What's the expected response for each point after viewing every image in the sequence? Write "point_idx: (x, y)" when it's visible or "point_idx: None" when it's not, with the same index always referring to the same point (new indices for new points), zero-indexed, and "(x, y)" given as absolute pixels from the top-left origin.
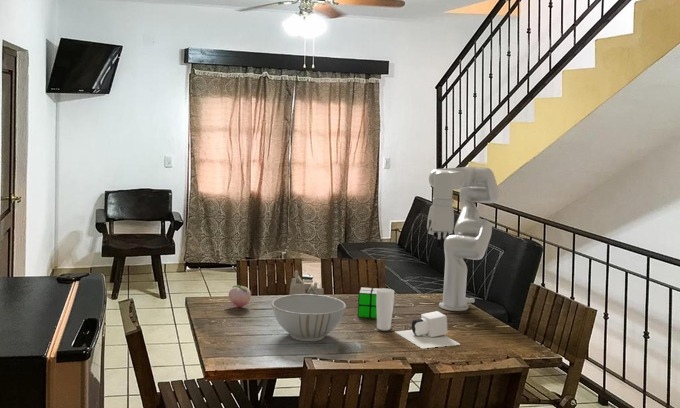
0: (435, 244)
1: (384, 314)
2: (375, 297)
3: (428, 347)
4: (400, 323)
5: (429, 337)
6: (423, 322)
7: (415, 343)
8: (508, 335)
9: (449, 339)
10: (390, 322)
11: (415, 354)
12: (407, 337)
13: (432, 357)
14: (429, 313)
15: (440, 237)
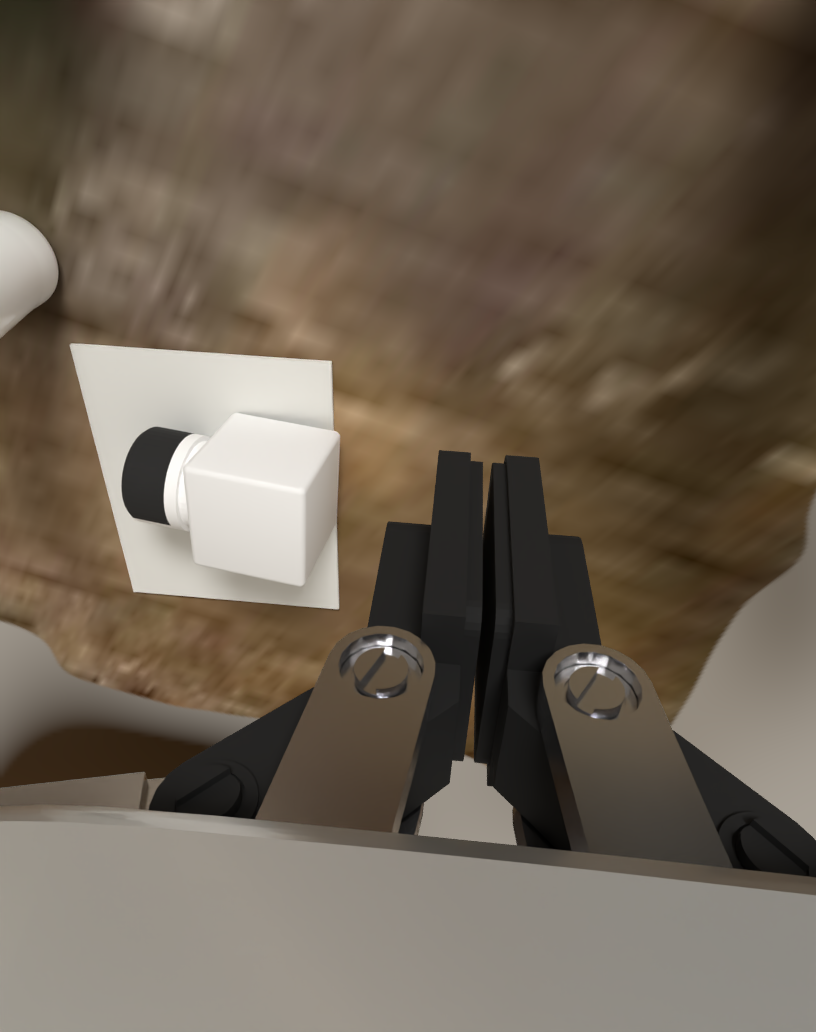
0: (385, 538)
1: None
2: None
3: (167, 592)
4: (173, 179)
5: None
6: (170, 527)
7: (126, 536)
8: (678, 591)
9: (323, 548)
10: (27, 314)
11: (85, 620)
12: (115, 456)
13: (144, 661)
14: (232, 496)
15: (413, 821)
